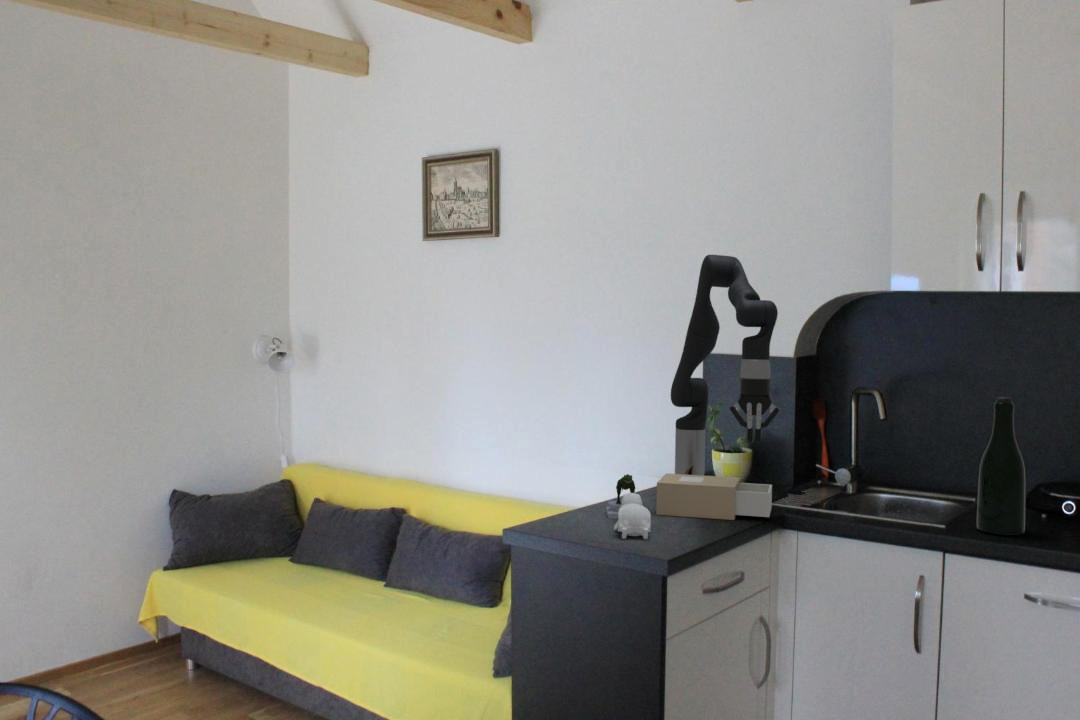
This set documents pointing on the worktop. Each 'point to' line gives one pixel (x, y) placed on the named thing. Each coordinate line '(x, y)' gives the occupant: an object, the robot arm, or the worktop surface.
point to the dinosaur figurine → (614, 507)
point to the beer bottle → (1002, 477)
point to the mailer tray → (753, 499)
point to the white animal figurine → (633, 517)
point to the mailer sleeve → (697, 496)
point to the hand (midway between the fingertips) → (753, 442)
